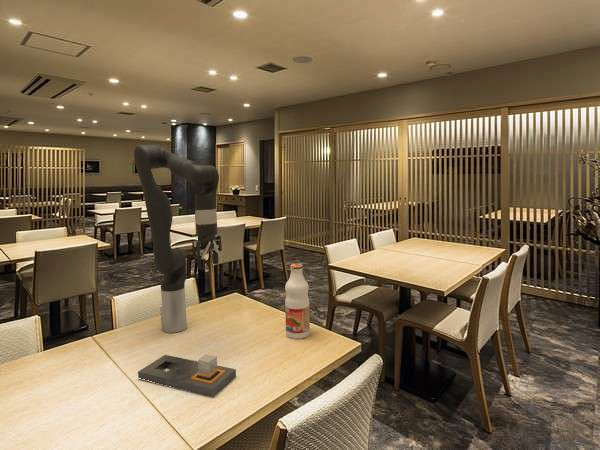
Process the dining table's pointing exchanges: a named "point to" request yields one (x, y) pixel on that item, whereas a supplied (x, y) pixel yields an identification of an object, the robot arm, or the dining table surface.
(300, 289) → the fruit juice
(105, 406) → the dining table surface
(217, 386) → the grey board with holes
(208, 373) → the grey square peg
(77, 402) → the dining table surface
